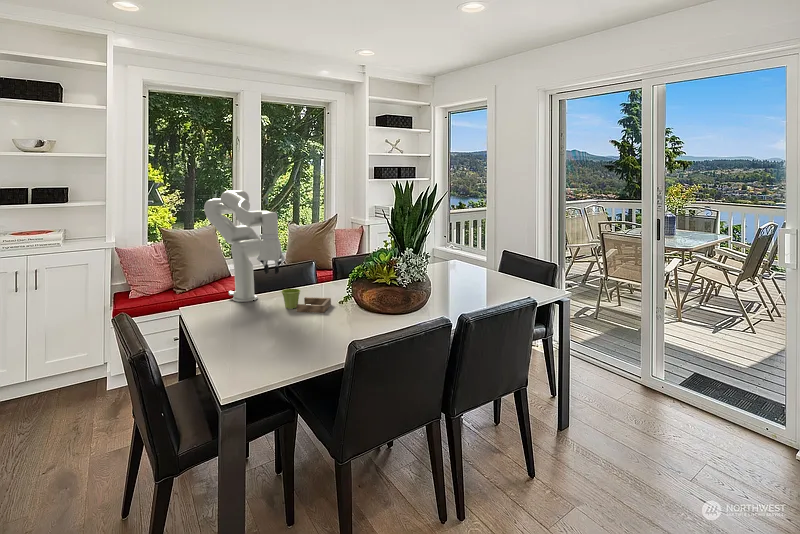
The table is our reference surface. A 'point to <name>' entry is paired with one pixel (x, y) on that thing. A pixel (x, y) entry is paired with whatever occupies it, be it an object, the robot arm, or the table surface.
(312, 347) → the table surface
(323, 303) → the walnut collar
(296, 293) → the plant pot
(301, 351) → the table surface
